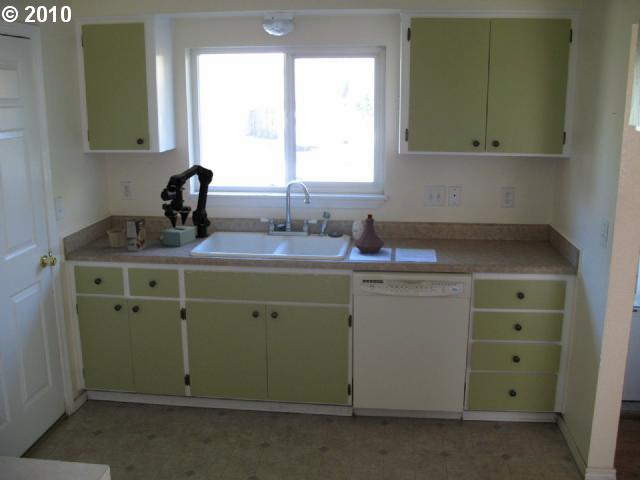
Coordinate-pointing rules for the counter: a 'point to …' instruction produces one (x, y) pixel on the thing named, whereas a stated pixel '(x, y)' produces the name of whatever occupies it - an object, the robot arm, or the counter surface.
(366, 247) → the flask
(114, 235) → the flower pot
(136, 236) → the coffee box
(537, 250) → the counter surface
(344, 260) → the counter surface
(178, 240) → the box
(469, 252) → the counter surface
